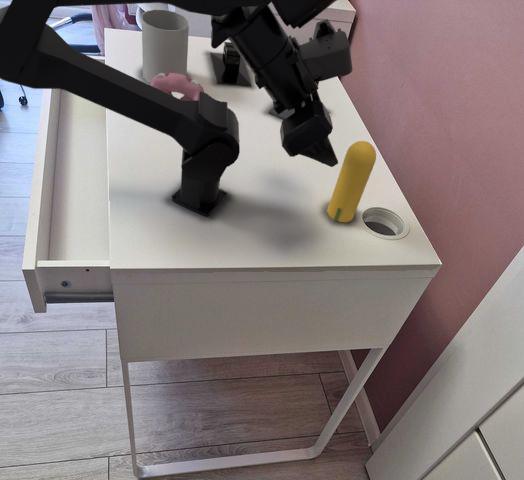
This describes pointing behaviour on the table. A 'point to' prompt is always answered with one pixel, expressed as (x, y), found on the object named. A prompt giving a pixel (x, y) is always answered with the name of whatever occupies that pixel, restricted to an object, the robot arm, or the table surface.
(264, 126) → the table surface
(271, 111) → the coaster
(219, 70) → the dark flat-based piece
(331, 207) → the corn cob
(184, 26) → the cup
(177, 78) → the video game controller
